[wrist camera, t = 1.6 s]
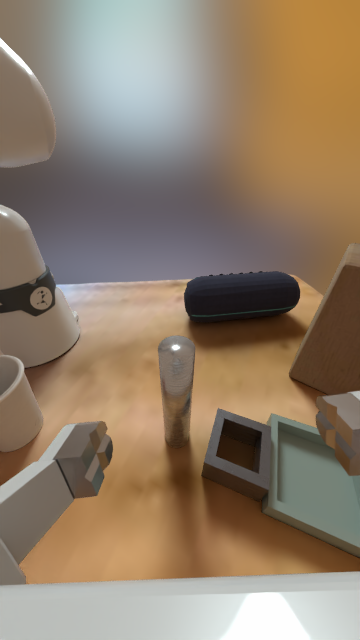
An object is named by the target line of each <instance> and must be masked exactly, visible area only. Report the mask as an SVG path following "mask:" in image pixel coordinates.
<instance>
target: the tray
mask: <svg viewBox="0 0 360 640" xmlns="http://www.w3.org/2000/svg"><path fill="white" fill-rule="evenodd" d="M267 425H268V426H271V454H270V481H269V491H268V492H267V493H266V494H265V496H264V497H263V498H262V513H264V514H266V515H268V516H270V517H272V518H274V519H277V520H279V521H281V522H283V523H285V524H287V525H290V526H292V527H294V528H296V529H298V530H300V531H302V532H305V533H307V534H309V535H311V536H313V537H315V538H318V539H320V540H322V541H324V542H326V543H328V544H330V545H333V546H335V547H337V548H339V549H341V550H343V551H346V552H348V553H350V554H352V555H354V556H356V557H358V558H360V475H359V476H349V475H348V474H347V472H346V471H345V470H344V468H343V467H342V465H341V464H340V463H339V461H338V460H337V459H336V457H335V449H333V448H332V447H330V446H328V445H327V444H326V443H325V442H324V440H323V439H322V437H321V436H320V434H319V432H318V428H315V427H312V426H309V425H306V424H303V423H299V422H296V421H293V420H290V419H287V418H284V417H281V416H278V415H275V414H272V413H271V415H270V417H269V419H268V421H267Z"/></svg>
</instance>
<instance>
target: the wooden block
mask: <svg viewBox="0 0 360 640" xmlns="http://www.w3.org/2000/svg"><path fill="white" fill-rule="evenodd" d="M289 376H290V377H292V378H294V379H296V380H298V381H300V382H302V383H304V384H306V385H309V386H311V387H313V388H315V389H317V390H319V391H321V392H324V393H326V394H328V395H333V394H341V393H347V392H354V391H360V244H357V243H352V244H350V245H349V246H348V248H347V250H346V252H345V254H344V256H343V259H342V260H341V263H340V265H339V267H338V269H337V271H336V273H335V275H334V277H333V279H332V281H331V283H330V285H329V287H328V289H327V291H326V293H325V295H324V297H323V299H322V302H321V304H320V306H319V308H318V310H317V312H316V314H315V316H314V318H313V320H312V322H311V324H310V326H309V328H308V330H307V332H306V334H305V337H304V339H303V341H302V343H301V345H300V347H299V350H298V352H297V355H296V357H295V359H294V362H293V364H292V367H291V369H290V372H289Z"/></svg>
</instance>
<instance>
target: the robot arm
mask: <svg viewBox="0 0 360 640" xmlns="http://www.w3.org/2000/svg"><path fill="white" fill-rule="evenodd" d="M55 140H56V126H55V119H54V114H53V111H52V108H51V105H50V102H49V100H48V98H47V95H46V93H45V91H44V90H43V88H42V86H41V84H40V83H39V81H38V80H37V78H36V77H35V75H34V74H33V72H32V71H31V70H30V68H29V67H28V66H27V65H26V64H25V63H24V61H23V60H22V59H21V58H20V57H19V56H18V55H17V54H16V53H15V52H14V51H12V50H11V49H10V48H9V47H8V46H7V45H6V43H4V41H3V40H1V38H0V167H18V166H23V165H28V164H32V163H36V162H40V161H44V160H48V158H49V157H50V156H51V154H52V152H53V149H54V146H55ZM77 320H78V315H77V313H76V312H75V311H72V310H71V308H70V306H69V304H68V302H67V300H66V298H65V296H64V294H63V292H62V290H61V289H60V288H59V287H56V284H55V281H54V277H53V275H52V273H51V272H50V270H49V267H48V266H46V265H45V264H44V262H43V259H42V257H41V254H40V252H39V249H38V247H37V244H36V242H35V239H34V237H33V234H32V232H31V229H30V227H29V225H28V224H27V222H26V221H25V219H24V218H23V217H22V216H20V215H19V214H18V213H16V212H15V211H13V210H11V209H10V208H7V207H5V206H3V205H0V355H8V356H13V357H16V358H18V359H19V360H21V361H22V363H23V365H24V368H26V367H32V366H36V365H40V364H43V363H46V362H48V361H51V360H53V359H55V358H57V357H58V356H60V355H62V354H63V353H65V352H66V351H67V350H69V349H70V348H71V347H72V346H73V345H74V344H75V342H76V341H77V339H78V337H79V334H80V328H79V326H78V324H77ZM316 406H317V408H318V409H319V410H320V411H319V412H318V414H317V415H316V425H317V428H318V432H319V434H320V436H321V437H322V439H323V440H324V442H325V443H326V444H327V445H328V446H330V447H332V448H333V449H335V457H336V459H337V460H338V461H339V463H340V464H341V465H342V467H343V468H344V470H345V471H346V472H347V474H348V475H349V476H359V475H360V391H354V392H347V393H341V394H333V395H324V396H318V397H317V399H316ZM106 431H107V426H106V424H105V422H103V421H97V422H85V423H77V424H67V425H66V426H64V427H63V428H62V430H61V431H60V432H59V434H58V435H57V436H56V438H55V439H54V440H53V442H52V443H51V444H50V446H49V447H48V448H47V450H46V451H45V452H44V454H43V455H42V457H41V458H40V459H39V461H38V462H33V463H32V464H30V465H29V466H28V467H26V468H25V469H23V470H22V471H21V472H19V473H18V474H17V475H15V476H14V477H13V478H11V479H10V480H8V481H7V482H6V483H4V484H3V485H2V486H0V640H360V571H358V572H331V573H305V574H278V575H252V576H226V577H200V578H175V579H149V580H124V581H98V582H73V583H47V584H26V576H25V575H24V573H23V571H22V570H21V568H20V567H19V564H20V562H21V561H22V560H23V559H24V558H25V557H26V555H27V554H28V553H29V552H30V551H31V550H32V548H33V547H34V546H35V545H36V544H37V543H38V541H39V540H40V539H41V538H42V537H43V536H44V534H45V533H46V532H47V531H48V530H49V529H50V528H51V526H52V525H53V524H54V523H55V522H56V521H57V519H58V518H59V517H60V516H61V515H62V514H63V512H64V511H65V510H66V509H67V508H68V507H69V505H70V504H71V503H72V502H73V501H74V499H75V498H84V497H92V496H97V495H98V492H99V489H100V487H101V484H102V482H103V479H104V473H103V470H104V469H105V468H106V467H107V466H108V465H109V464H110V461H111V458H112V452H113V445H112V440H111V437H109V436H108V435H107V434H105V433H106Z"/></svg>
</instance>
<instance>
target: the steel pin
mask: <svg viewBox="0 0 360 640" xmlns="http://www.w3.org/2000/svg"><path fill="white" fill-rule="evenodd" d="M158 354H159V366H160V379H161V392H162V405H163V417H164V430H165V439H166V442H167V443H168V444H169V445H170V446H171V447H174V448H180V447H182V446H184V445H185V444H186V443H187V442H188V439H189V431H190V417H191V403H192V389H193V375H194V361H195V345H194V343H193V342H192V341H191V340H190V339H188V338H186V337H183V336H171V337H168V338H165V339H164V340H162V341H161V343H160V344H159V346H158Z"/></svg>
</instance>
